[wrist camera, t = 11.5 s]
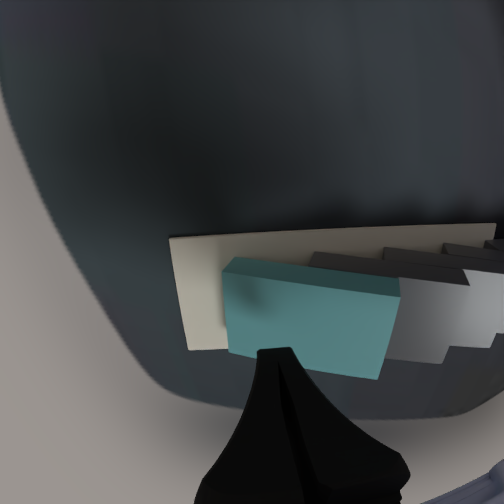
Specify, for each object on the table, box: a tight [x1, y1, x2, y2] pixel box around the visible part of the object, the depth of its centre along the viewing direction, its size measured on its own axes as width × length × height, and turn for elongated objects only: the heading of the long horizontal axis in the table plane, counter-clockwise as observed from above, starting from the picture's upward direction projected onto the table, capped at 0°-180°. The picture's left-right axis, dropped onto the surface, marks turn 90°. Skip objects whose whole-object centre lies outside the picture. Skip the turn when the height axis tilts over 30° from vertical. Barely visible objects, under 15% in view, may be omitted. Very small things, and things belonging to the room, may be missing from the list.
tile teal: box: [221, 257, 401, 379], centre depth 15 cm, size 2×5×8 cm
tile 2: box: [308, 251, 470, 364], centre depth 16 cm, size 2×5×8 cm
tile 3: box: [382, 247, 504, 348], centre depth 16 cm, size 2×5×8 cm
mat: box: [169, 223, 497, 350], centre depth 18 cm, size 20×7×1 cm, turn 92°
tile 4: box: [441, 243, 504, 333], centre depth 16 cm, size 2×5×8 cm
